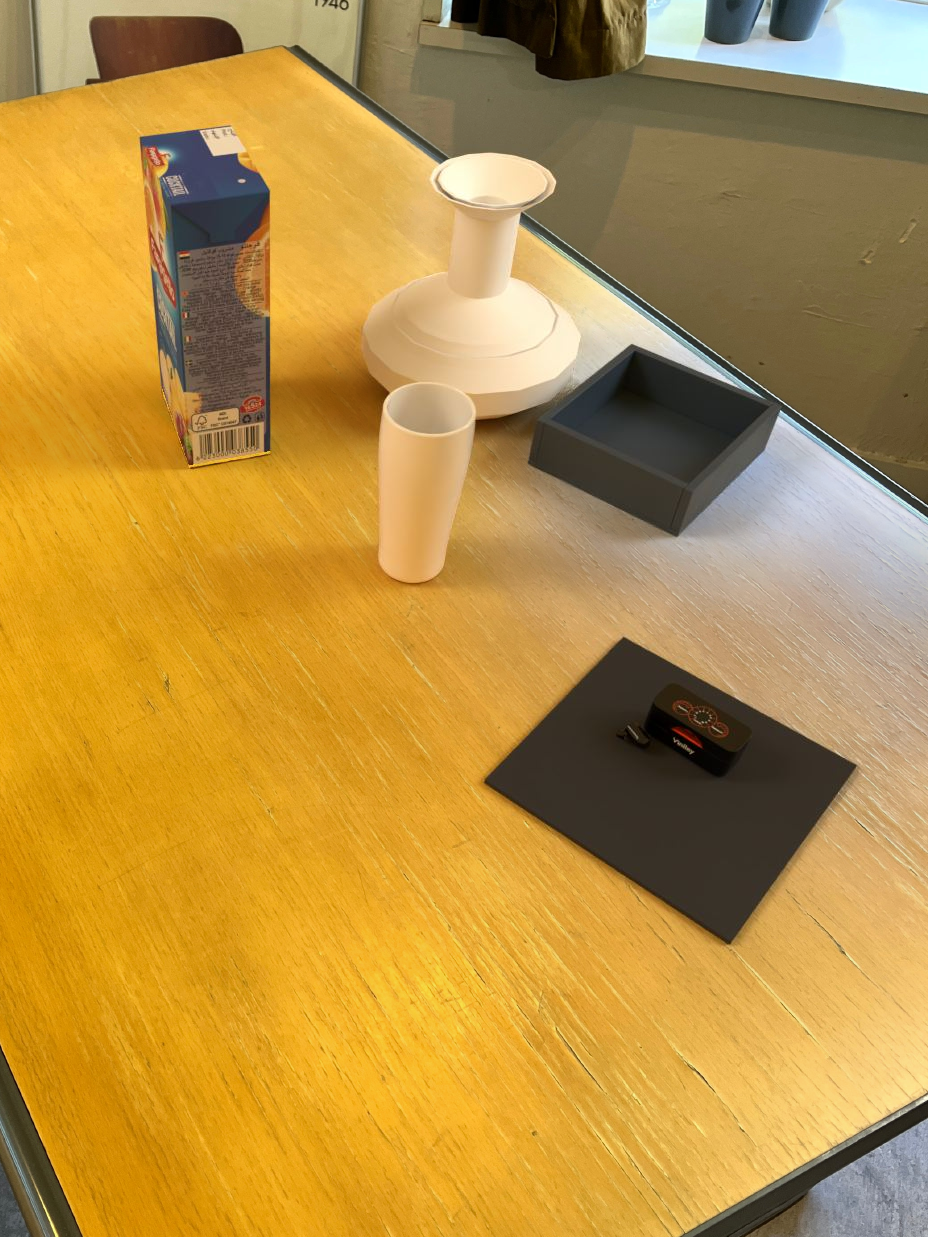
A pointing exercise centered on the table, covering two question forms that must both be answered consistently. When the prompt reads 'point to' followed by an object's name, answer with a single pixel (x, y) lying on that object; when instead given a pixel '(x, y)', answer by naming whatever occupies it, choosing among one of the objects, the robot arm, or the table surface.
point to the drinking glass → (421, 476)
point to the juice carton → (210, 289)
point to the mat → (671, 791)
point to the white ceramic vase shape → (477, 300)
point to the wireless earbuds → (692, 730)
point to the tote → (653, 437)
